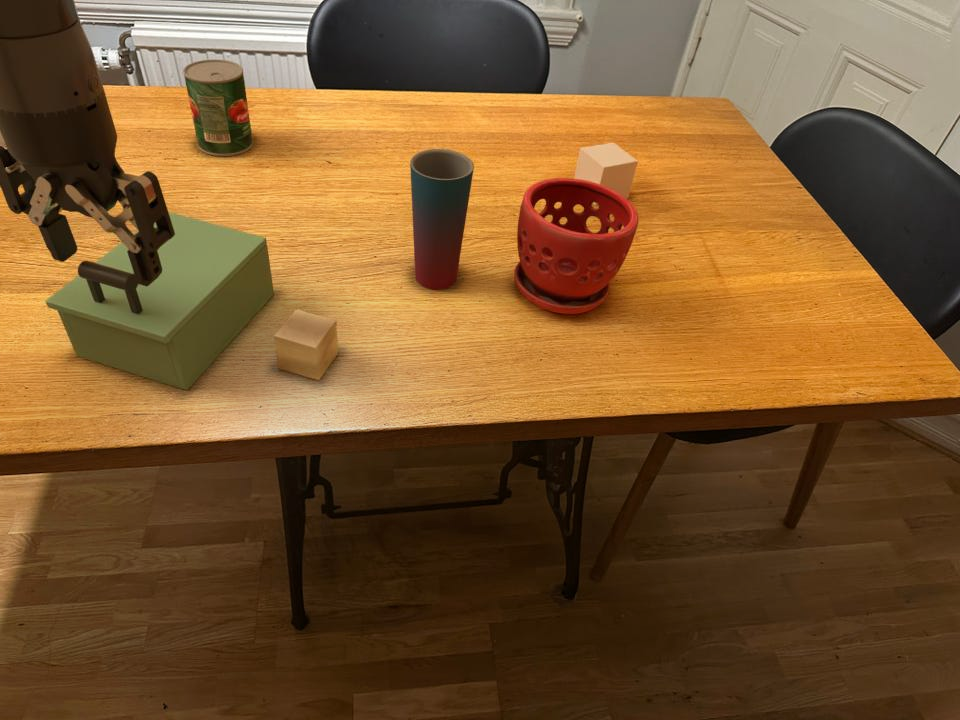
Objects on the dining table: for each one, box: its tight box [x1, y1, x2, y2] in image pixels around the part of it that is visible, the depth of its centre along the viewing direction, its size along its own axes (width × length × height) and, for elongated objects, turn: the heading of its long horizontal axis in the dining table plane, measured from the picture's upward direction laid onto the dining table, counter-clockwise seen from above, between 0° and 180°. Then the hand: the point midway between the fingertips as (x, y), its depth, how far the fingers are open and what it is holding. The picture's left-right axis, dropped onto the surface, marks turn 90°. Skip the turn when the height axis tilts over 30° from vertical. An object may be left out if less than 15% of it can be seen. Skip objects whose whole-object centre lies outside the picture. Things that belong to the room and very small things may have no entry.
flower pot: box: [513, 177, 640, 315], centre depth 81 cm, size 13×13×12 cm
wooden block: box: [273, 309, 339, 381], centre depth 71 cm, size 4×4×4 cm
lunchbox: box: [56, 243, 275, 391], centre depth 72 cm, size 17×13×7 cm
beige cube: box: [573, 142, 639, 206], centre depth 101 cm, size 6×6×6 cm
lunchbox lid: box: [45, 211, 268, 343], centre depth 68 cm, size 17×13×5 cm
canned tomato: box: [182, 59, 254, 157], centre depth 100 cm, size 8×8×11 cm
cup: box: [409, 148, 475, 290], centre depth 79 cm, size 7×7×15 cm
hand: (108, 268), depth 61 cm, fingers open, 8 cm apart
